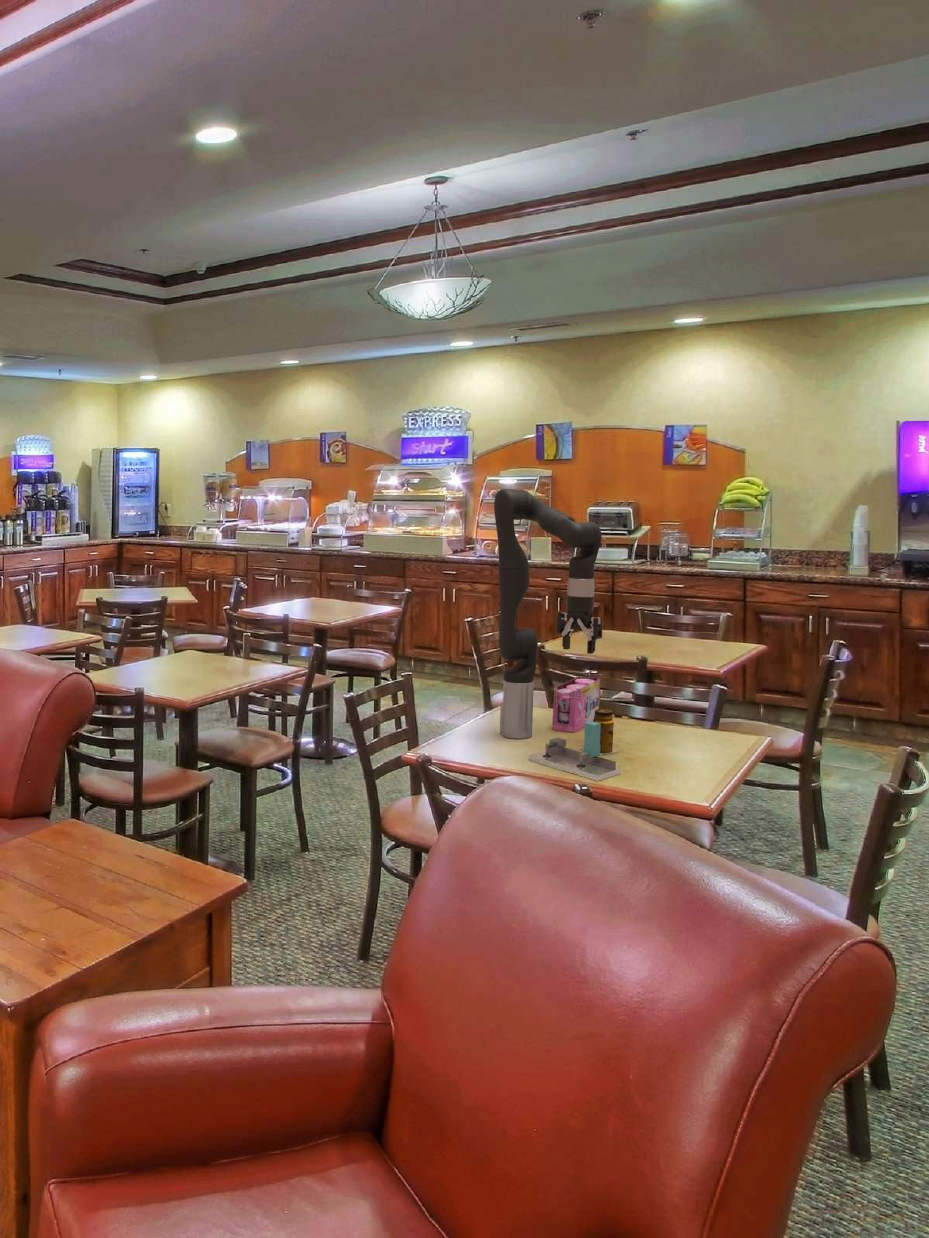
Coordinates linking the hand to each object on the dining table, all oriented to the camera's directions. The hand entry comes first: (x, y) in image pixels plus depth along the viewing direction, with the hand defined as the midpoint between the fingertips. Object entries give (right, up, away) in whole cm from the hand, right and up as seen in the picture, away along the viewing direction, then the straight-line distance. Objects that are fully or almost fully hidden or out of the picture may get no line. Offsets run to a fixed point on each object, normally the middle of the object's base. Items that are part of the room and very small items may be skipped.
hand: (578, 651), depth 250 cm
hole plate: (-2, -31, -7) cm, 32 cm away
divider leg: (+1, -30, -9) cm, 31 cm away
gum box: (+4, -25, +40) cm, 47 cm away
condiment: (+7, -30, +9) cm, 32 cm away
